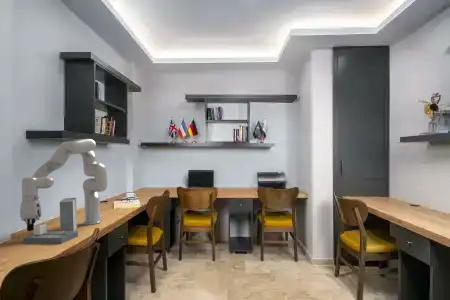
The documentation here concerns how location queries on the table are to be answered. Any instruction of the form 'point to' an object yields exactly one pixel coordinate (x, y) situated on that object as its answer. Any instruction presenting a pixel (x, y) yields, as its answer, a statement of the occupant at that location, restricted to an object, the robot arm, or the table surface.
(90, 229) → the table surface
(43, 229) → the fader knob
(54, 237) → the platform
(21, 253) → the table surface
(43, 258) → the table surface
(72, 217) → the hard drive box
